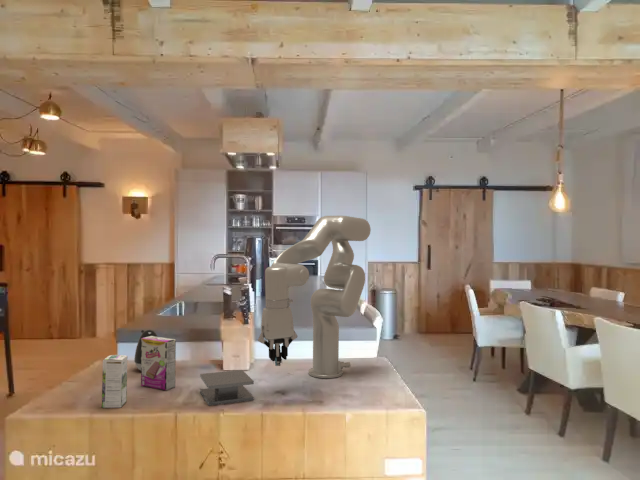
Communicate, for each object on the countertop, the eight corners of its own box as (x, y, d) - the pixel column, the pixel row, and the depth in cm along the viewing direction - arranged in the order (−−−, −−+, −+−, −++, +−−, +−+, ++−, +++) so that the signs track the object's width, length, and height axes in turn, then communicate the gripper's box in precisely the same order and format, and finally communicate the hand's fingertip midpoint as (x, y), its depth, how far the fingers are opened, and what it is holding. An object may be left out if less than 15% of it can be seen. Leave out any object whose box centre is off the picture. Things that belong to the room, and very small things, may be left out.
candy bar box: (139, 386, 175) (140, 338, 175) (150, 382, 180) (150, 335, 180) (165, 391, 171) (166, 341, 170) (176, 387, 175) (176, 338, 175)
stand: (242, 387, 176) (242, 369, 175) (253, 400, 163) (253, 381, 163) (200, 392, 170) (200, 373, 170) (208, 405, 157) (208, 385, 157)
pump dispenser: (154, 365, 203) (154, 326, 203) (167, 370, 196) (168, 330, 196) (129, 369, 196) (129, 329, 196) (142, 375, 189) (142, 333, 188)
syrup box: (107, 402, 160) (107, 354, 159) (127, 401, 160) (127, 354, 160) (101, 408, 154) (101, 359, 154) (122, 408, 154) (122, 359, 154)
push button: (286, 367, 168) (285, 336, 168) (269, 368, 168) (269, 337, 167) (285, 361, 175) (284, 332, 175) (269, 362, 175) (268, 332, 174)
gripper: (296, 300, 177) (297, 353, 178) (249, 304, 171) (250, 359, 172) (304, 303, 170) (305, 359, 171) (256, 308, 164) (257, 365, 165)
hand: (278, 358), depth 171 cm, fingers closed on push button, 3 cm apart
